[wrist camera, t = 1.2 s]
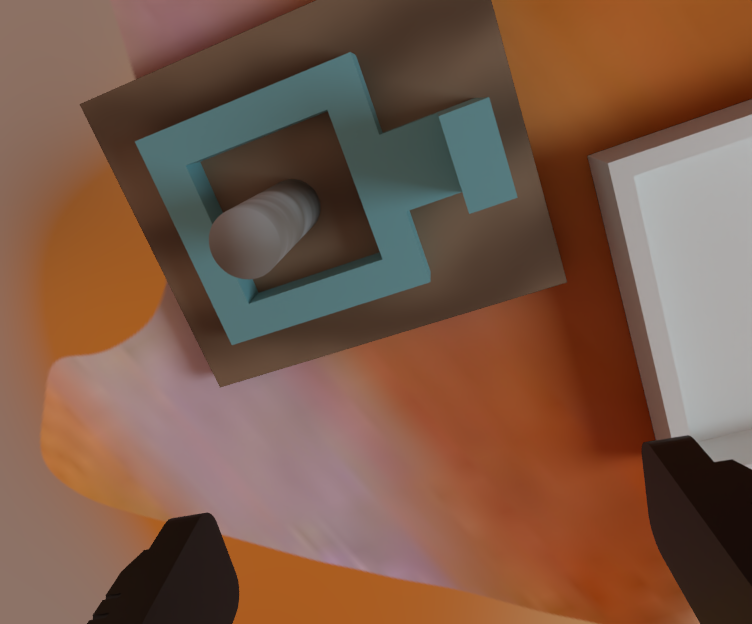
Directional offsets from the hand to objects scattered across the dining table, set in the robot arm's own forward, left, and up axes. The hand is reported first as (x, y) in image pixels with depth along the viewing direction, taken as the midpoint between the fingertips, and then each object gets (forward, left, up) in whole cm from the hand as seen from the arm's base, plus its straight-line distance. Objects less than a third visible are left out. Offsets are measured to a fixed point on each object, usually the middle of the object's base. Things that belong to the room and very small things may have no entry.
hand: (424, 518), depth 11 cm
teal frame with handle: (-4, -4, -23) cm, 24 cm away
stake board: (-4, -5, -25) cm, 26 cm away
